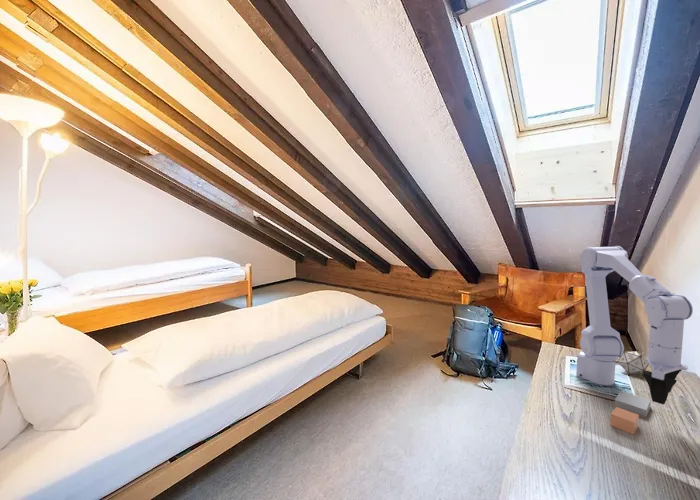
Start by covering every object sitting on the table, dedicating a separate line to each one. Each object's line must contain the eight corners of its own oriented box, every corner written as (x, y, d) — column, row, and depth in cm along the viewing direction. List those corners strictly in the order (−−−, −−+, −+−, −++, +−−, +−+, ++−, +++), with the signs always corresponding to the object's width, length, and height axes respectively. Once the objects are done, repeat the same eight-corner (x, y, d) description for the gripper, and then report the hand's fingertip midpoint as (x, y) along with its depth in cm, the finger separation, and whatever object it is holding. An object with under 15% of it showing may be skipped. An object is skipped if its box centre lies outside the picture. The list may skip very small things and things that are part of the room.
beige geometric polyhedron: (639, 387, 105) (657, 373, 98) (608, 372, 109) (624, 358, 102) (640, 365, 110) (658, 351, 103) (611, 353, 114) (627, 338, 107)
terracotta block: (610, 430, 80) (610, 413, 80) (615, 422, 83) (616, 406, 83) (633, 439, 77) (634, 422, 76) (638, 431, 79) (639, 415, 79)
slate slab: (614, 406, 87) (614, 399, 87) (620, 397, 91) (620, 390, 91) (645, 417, 82) (646, 410, 82) (650, 407, 86) (650, 400, 86)
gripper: (684, 358, 70) (679, 416, 71) (693, 340, 78) (689, 392, 80) (641, 348, 75) (638, 402, 77) (654, 333, 84) (651, 381, 85)
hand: (661, 396), depth 79 cm, fingers open, 7 cm apart
